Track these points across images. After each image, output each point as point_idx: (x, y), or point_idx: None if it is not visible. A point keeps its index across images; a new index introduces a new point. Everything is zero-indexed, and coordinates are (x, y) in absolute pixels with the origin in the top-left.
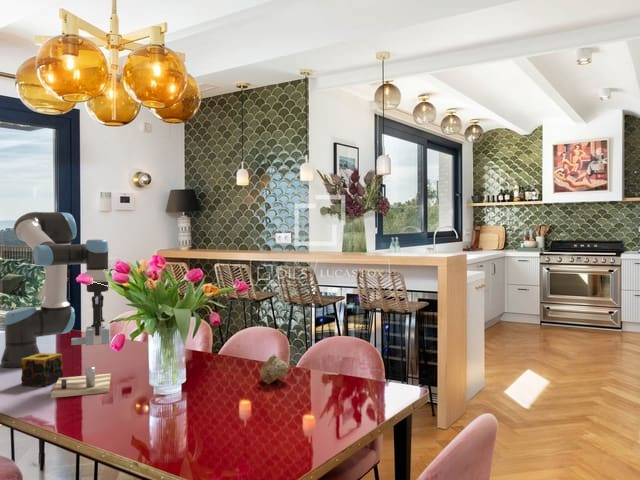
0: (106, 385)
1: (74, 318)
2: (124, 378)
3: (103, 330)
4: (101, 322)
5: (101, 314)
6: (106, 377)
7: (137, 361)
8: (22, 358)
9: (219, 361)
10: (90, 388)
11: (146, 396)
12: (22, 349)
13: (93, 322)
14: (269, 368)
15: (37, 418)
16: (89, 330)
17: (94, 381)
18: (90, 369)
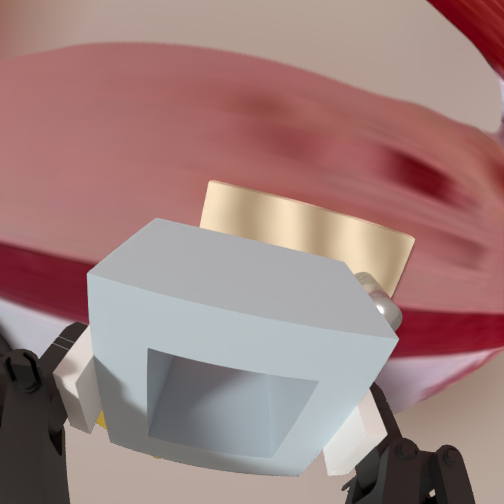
0: (387, 238)
1: None
2: (257, 133)
3: (363, 381)
4: (71, 390)
5: (44, 488)
6: (269, 211)
7: (37, 69)
8: (154, 457)
9: None
10: (385, 290)
11: (493, 159)
12: None
13: (424, 501)
14: None
15: (449, 378)
16: (310, 462)
17: (378, 283)
18: (399, 321)
